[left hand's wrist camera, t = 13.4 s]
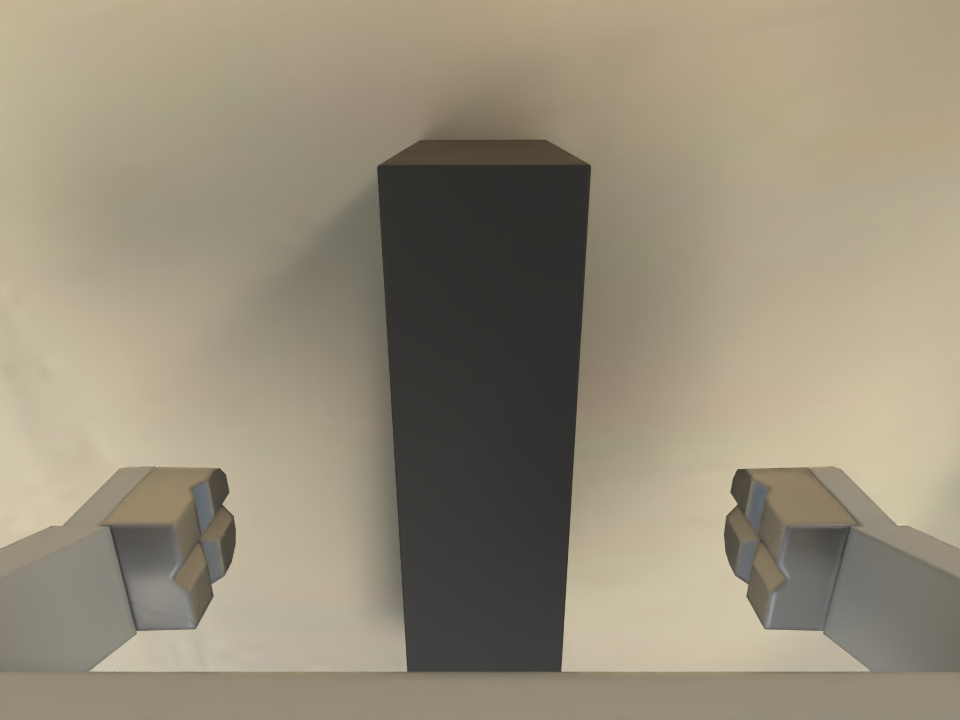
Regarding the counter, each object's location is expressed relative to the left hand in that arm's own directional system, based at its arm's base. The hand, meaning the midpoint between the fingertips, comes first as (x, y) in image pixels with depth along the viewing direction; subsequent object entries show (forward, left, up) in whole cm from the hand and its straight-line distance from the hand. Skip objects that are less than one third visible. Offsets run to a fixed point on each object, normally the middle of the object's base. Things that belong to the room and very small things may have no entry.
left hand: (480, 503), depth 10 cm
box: (+8, +2, -22) cm, 23 cm away
